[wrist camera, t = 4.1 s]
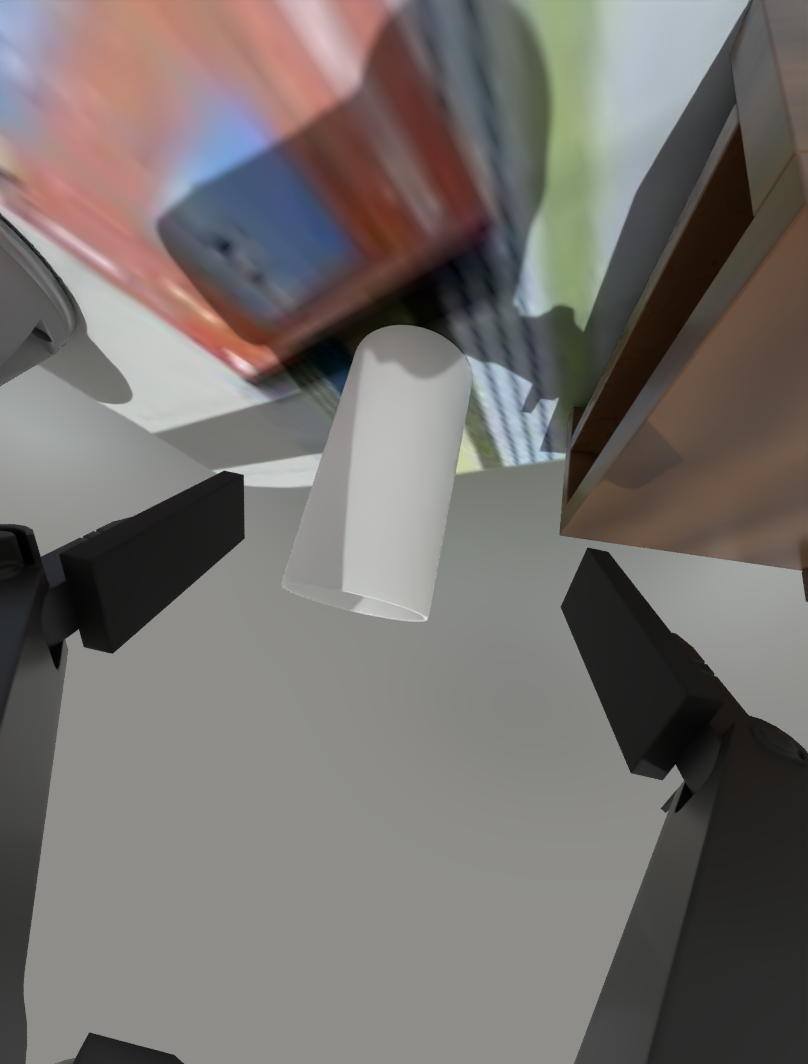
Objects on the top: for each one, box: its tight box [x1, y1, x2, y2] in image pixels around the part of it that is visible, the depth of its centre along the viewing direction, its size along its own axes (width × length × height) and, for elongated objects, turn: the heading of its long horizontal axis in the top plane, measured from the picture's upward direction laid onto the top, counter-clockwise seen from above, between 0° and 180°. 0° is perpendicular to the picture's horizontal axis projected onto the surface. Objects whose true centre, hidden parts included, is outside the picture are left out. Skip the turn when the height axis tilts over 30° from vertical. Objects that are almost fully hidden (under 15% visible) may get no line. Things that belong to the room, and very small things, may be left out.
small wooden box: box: [560, 0, 808, 602], centre depth 15 cm, size 14×18×11 cm
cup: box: [281, 325, 472, 622], centre depth 23 cm, size 8×8×16 cm
